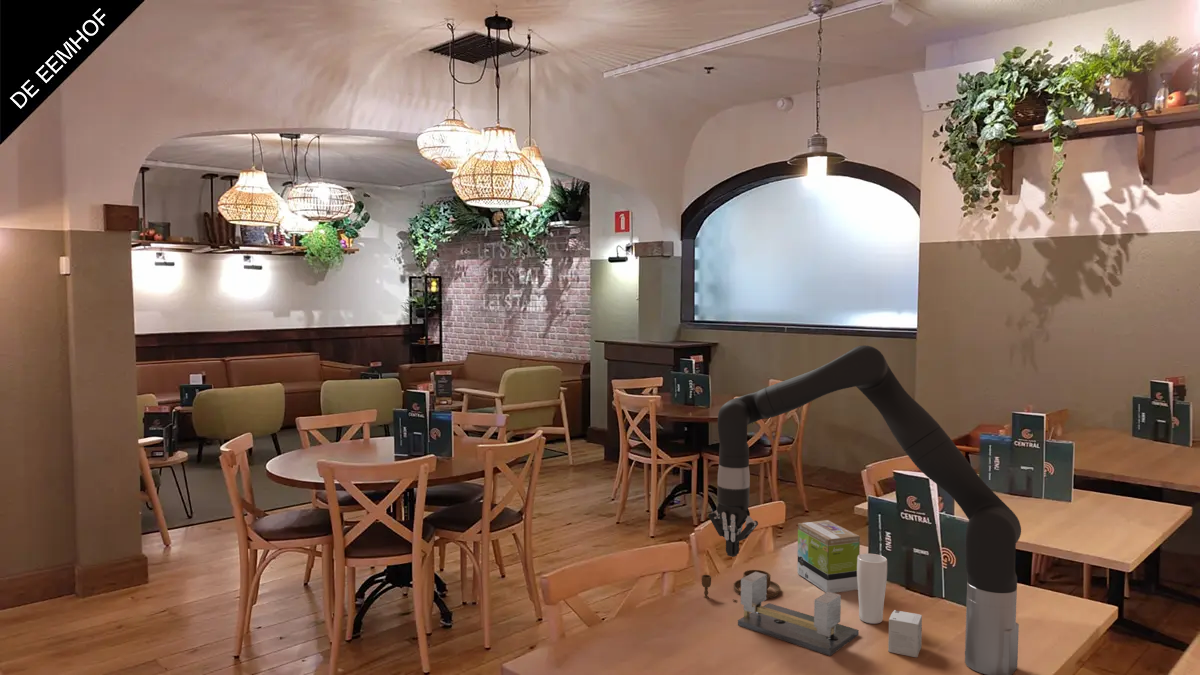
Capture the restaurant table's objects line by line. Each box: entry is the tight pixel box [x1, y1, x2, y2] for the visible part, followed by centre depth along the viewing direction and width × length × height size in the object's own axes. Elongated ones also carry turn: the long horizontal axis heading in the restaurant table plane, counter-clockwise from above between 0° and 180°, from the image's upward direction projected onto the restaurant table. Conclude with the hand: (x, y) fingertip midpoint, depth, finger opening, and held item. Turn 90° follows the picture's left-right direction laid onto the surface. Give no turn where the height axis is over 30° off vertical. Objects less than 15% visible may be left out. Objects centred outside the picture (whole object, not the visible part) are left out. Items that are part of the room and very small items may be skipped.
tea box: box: [797, 519, 861, 594], centre depth 212 cm, size 15×10×15 cm, turn 17°
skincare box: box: [887, 609, 923, 658], centre depth 172 cm, size 6×6×7 cm
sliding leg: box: [740, 572, 767, 614], centre depth 185 cm, size 3×6×10 cm, turn 138°
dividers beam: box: [743, 592, 842, 639], centre depth 179 cm, size 22×6×10 cm, turn 48°
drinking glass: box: [857, 553, 888, 625], centre depth 187 cm, size 7×7×15 cm
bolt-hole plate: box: [737, 602, 860, 657], centre depth 182 cm, size 23×14×1 cm, turn 48°
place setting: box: [701, 569, 781, 604], centre depth 206 cm, size 18×20×6 cm
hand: (732, 555), depth 189 cm, fingers closed
